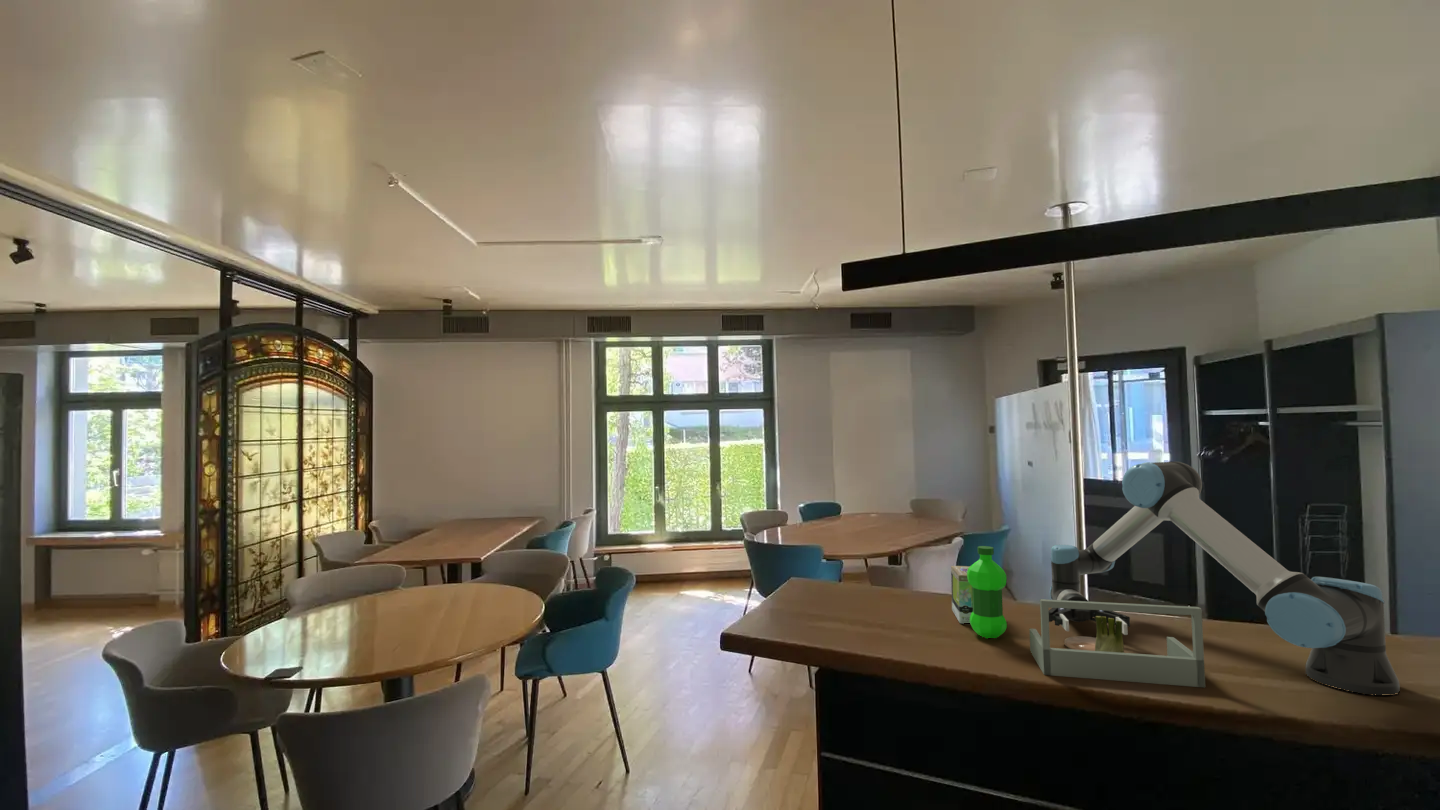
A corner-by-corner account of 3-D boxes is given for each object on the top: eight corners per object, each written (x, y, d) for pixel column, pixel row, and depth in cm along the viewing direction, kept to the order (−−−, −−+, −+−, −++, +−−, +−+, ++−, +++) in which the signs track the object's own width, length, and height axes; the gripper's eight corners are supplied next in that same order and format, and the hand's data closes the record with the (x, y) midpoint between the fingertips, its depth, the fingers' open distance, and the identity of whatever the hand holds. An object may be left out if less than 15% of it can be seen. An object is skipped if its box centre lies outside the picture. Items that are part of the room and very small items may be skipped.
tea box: (994, 625, 190) (992, 575, 190) (959, 624, 192) (957, 574, 192) (984, 611, 205) (982, 565, 205) (951, 610, 207) (949, 564, 207)
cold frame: (1030, 651, 168) (1027, 584, 168) (1174, 661, 159) (1171, 590, 159) (1044, 674, 152) (1041, 600, 152) (1205, 687, 143) (1201, 608, 143)
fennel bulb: (1127, 669, 154) (1125, 619, 154) (1110, 671, 153) (1107, 621, 153) (1108, 661, 160) (1106, 613, 160) (1091, 663, 159) (1089, 614, 159)
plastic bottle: (972, 640, 177) (969, 550, 178) (967, 629, 187) (964, 543, 188) (1011, 643, 174) (1008, 551, 175) (1003, 631, 184) (1000, 544, 185)
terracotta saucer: (1126, 646, 170) (1126, 643, 170) (1113, 659, 161) (1113, 656, 161) (1073, 636, 179) (1073, 633, 179) (1057, 647, 170) (1057, 644, 170)
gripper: (1123, 621, 183) (1151, 645, 162) (1028, 616, 189) (1044, 638, 169) (1122, 595, 183) (1150, 616, 163) (1027, 590, 190) (1043, 610, 169)
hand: (1096, 627), depth 166 cm, fingers open, 13 cm apart
